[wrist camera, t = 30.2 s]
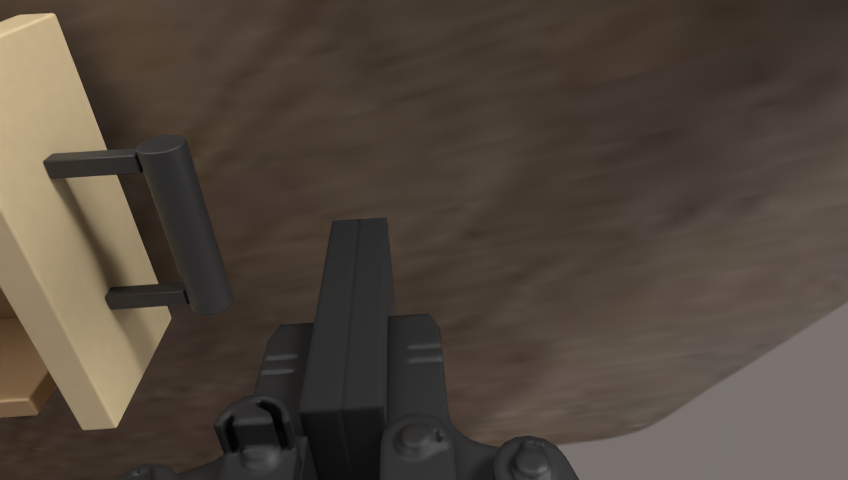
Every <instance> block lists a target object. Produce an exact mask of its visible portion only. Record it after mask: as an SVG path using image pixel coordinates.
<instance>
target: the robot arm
mask: <svg viewBox="0 0 848 480" xmlns="http://www.w3.org/2000/svg"><path fill="white" fill-rule="evenodd" d="M214 428H215V430H216V433H217V436H218V438H219V441H220V444H221V446H222V449H223V451H224V455H222V456H221V457H219V458H218V459H216V460H214V461H212V462H210V463H207V464H205V465H202V466H199V467H197V468H194V469H191V470H188V471H185V472H182V473H180V474H177V475H176V474H175V472H174V471H173V469H172V468H170V467H168V466H165V465H163V464H146V465H143V466H140V467H137V468H134V469H131V470H130V471H128V472H127V473H125V474H123V475H122V476H120V477H119V478H117V479H116V480H579V479H578V477H577V476H576V474H575V472H574V470H573V468H572V467H571V465H570V463H569V462H568V460H567V458H566V457H565V456H564V455H563V453H562V452H561V451H560V450H559V449H558V448H557V446H555V445H553V444H552V443H550V442H548V441H547V440H545V439H542V438H537V437H533V436H523V437H515V438H513V439H511V440H509V441H507V442H505V443H504V444H503V445H502V446H501V447H500V448H499V447H494V446H490V445H486V444H481V443H478V442H475V441H473V440H470V439H469V438H467V437H465V436H464V435H462V434H461V433H460V432H459V431H458V430H457V429H456V428H455V427H454V425H453V423H452V422H451V420H450V416H449V412H448V403H447V394H446V384H445V374H444V364H443V355H442V345H441V335H440V327H439V326H438V325H437V323H436V322H435V321H434V319H433V318H432V316H431V315H430V314H417V315H402V316H394V286H393V276H392V266H391V256H390V246H389V236H388V225H387V217H386V218H370V219H355V220H340V221H332V225H331V231H330V236H329V242H328V248H327V253H326V259H325V265H324V270H323V276H322V282H321V288H320V293H319V299H318V305H317V310H316V316H315V322H314V323H304V324H289V325H280V327H279V328H278V329H277V330H276V332H275V333H274V334H273V335H272V336H271V338H270V339H269V340H268V343H267V346H266V350H265V354H264V357H263V362H262V365H261V369H260V376H258V380H257V384H256V387H255V391H254V395H251V396H246V397H243V398H241V399H239V400H237V401H235V402H233V403H232V404H230V405H229V406H228V407H227V408H226V409H225V410H224V411H223V412H221V413H220V415H219V417H218V418H217V420H216V422H215V424H214Z"/></svg>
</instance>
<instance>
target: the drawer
mask: <svg viewBox="0 0 848 480" xmlns="http://www.w3.org/2000/svg"><path fill="white" fill-rule="evenodd" d="M142 172H144V175H145V178H146V180H147V183H148V186H149V189H150V192H151V195H152V197H153V200H154V203H155V206H156V209H157V212H158V214H159V217H160V220H161V223H162V226H163V229H164V231H165V234H166V237H167V240H168V243H169V246H170V248H171V251H172V254H173V257H174V260H175V263H176V265H177V268H178V271H179V274H180V277H181V280H182V282H177V283H163V284H158V281H157V279H156V276H155V273H154V271H153V268H152V265H151V263H150V260H149V258H148V255H147V252H146V250H145V247H144V245H143V242H142V239H141V237H140V234H139V232H138V229H137V226H136V224H135V221H134V218H133V216H132V213H131V211H130V208H129V205H128V203H127V200H126V198H125V195H124V192H123V190H122V187H121V184H120V182H119V179H118V177H117V175H121V174H136V173H142ZM232 300H233V295H232V291H231V288H230V285H229V281H228V278H227V275H226V271H225V268H224V265H223V261H222V258H221V254H220V251H219V248H218V244H217V241H216V238H215V234H214V231H213V228H212V224H211V221H210V217H209V214H208V211H207V207H206V204H205V201H204V197H203V194H202V191H201V187H200V184H199V181H198V177H197V174H196V170H195V167H194V164H193V160H192V157H191V154H190V150H189V147H188V144H187V140H186V139H185V138H184V137H183V136H180V135H162V136H157V137H153V138H150V139H147V140H145V141H143V142H141V143H140V144H139V145H138V146H137V147H136V148H131V149H116V150H107V148H106V145H105V143H104V140H103V137H102V135H101V132H100V130H99V127H98V124H97V122H96V119H95V117H94V114H93V111H92V109H91V106H90V103H89V101H88V98H87V96H86V93H85V90H84V88H83V85H82V83H81V80H80V77H79V75H78V72H77V69H76V67H75V64H74V62H73V59H72V56H71V54H70V51H69V49H68V46H67V43H66V41H65V38H64V36H63V33H62V30H61V28H60V25H59V22H58V20H57V17H56V15H55V14H53V13H44V14H28V15H17V16H15V17H12V18H9V19H7V20H4V21H1V22H0V418H4V417H18V416H32V415H38V414H39V412H40V411H41V409H42V408H43V406H44V405H45V403H46V402H47V400H48V399H49V397H50V396H51V394H52V393H53V391H54V390H55V388H56V387H57V386H58V388H59V390H60V391H61V393H62V395H63V397H64V398H65V400H66V402H67V404H68V405H69V407H70V409H71V411H72V412H73V414H74V416H75V418H76V419H77V421H78V423H79V425H80V426H81V428H82V429H83V430H97V429H111V428H116V427H117V426H118V424H119V422H120V420H121V418H122V416H123V414H124V412H125V410H126V408H127V406H128V404H129V402H130V400H131V398H132V396H133V394H134V392H135V390H136V388H137V386H138V384H139V382H140V380H141V378H142V376H143V374H144V372H145V370H146V368H147V366H148V364H149V362H150V360H151V358H152V356H153V354H154V352H155V350H156V348H157V346H158V344H159V342H160V340H161V338H162V336H163V334H164V332H165V330H166V328H167V326H168V324H169V322H170V320H171V315H170V313H169V310H168V307H167V306H175V305H187V304H189V302H190V305H191V308H192V310H193V311H194V312H195V313H197V314H199V315H212V314H216V313H219V312H221V311H223V310H225V309H226V308H227V307H228V306H229V305H230V304H231V303H232Z"/></svg>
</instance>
